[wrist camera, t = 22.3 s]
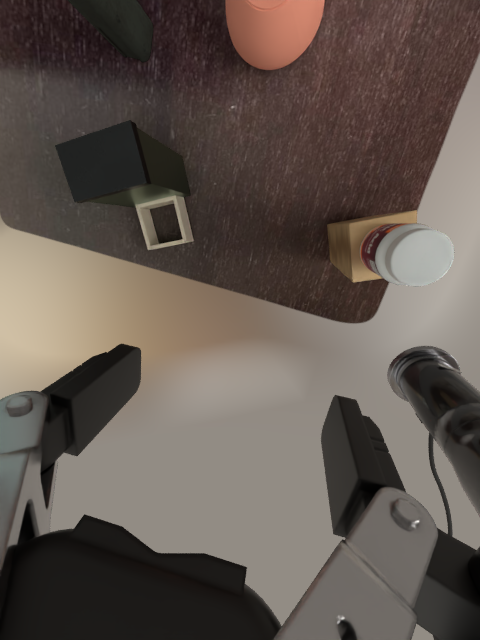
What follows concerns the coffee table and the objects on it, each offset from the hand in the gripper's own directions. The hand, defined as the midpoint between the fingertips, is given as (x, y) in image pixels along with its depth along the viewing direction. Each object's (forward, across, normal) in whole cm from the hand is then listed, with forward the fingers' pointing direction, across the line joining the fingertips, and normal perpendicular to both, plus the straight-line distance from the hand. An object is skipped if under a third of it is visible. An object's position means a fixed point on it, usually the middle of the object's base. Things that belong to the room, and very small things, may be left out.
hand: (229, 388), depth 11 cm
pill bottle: (+21, -10, -6) cm, 24 cm away
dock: (+38, +20, -3) cm, 43 cm away
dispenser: (+38, +22, -9) cm, 46 cm away
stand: (+38, -10, -5) cm, 40 cm away
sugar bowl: (+39, +6, -32) cm, 50 cm away
